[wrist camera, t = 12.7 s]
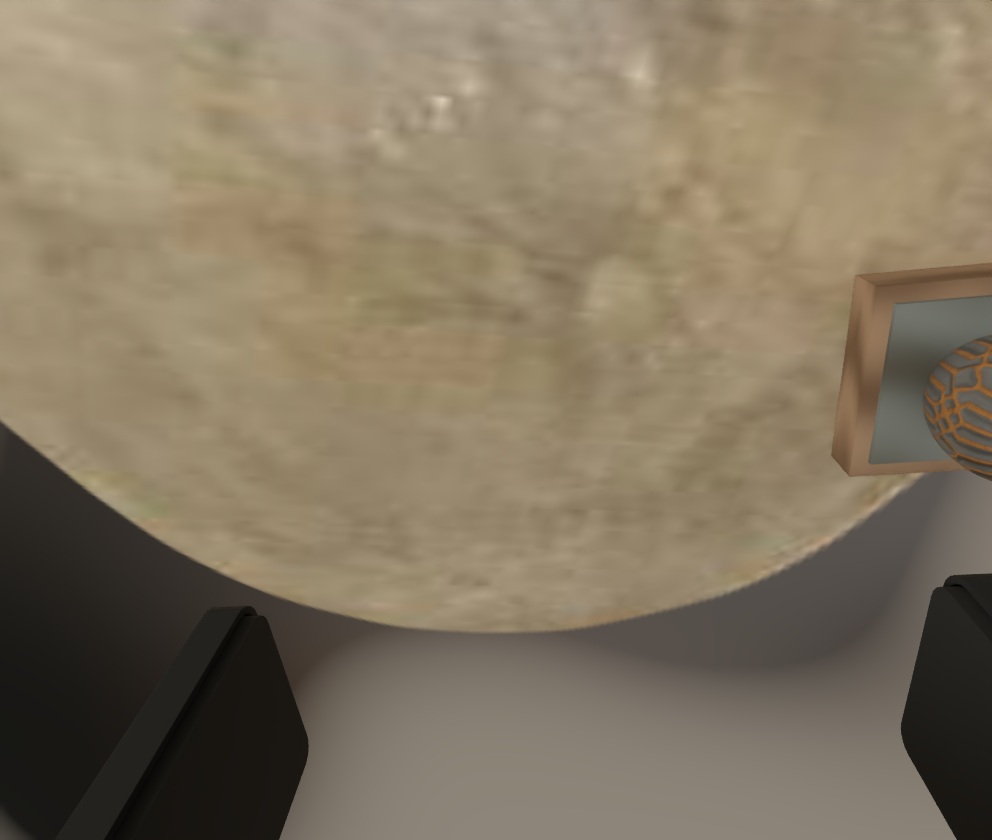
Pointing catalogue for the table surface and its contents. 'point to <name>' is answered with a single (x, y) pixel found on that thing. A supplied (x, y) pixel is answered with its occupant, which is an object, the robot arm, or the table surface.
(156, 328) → the table surface
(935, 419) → the vase
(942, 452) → the plinth
